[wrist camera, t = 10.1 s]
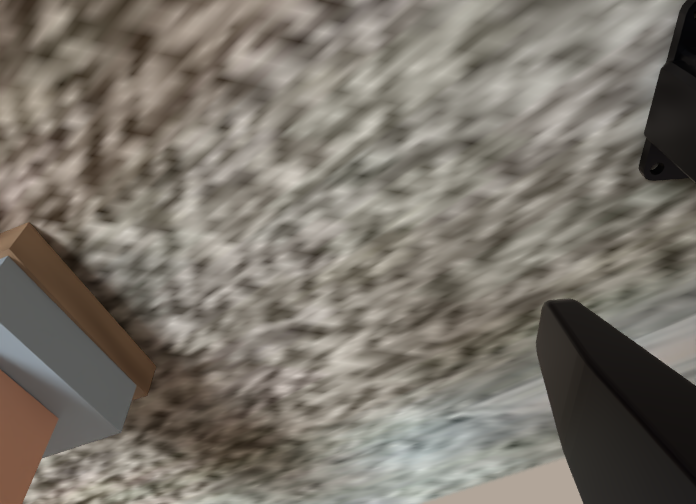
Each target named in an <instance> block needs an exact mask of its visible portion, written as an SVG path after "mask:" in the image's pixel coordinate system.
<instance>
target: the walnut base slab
mask: <svg viewBox="0 0 696 504" xmlns="http://www.w3.org/2000/svg"><path fill="white" fill-rule="evenodd" d="M6 256H9V257H10V258H11V259H12V260H13V261H14V262H15V263H16V264H17V265H18V266H19V267H20V268H21V269H22V270H23V271H24V272H25V273H26V274H27V275H28V276H29V277H30V278H31V279H32V280H33V281H34V282H35V283H36V284H37V286H38V287H39V288H40V289H41V290H42V291H43V292H44V293H45V294H46V295H47V296H48V297H49V298H50V299H51V300H52V301H53V302H54V303H55V304H56V305H57V306H58V307H59V308H60V309H61V310H62V311H63V312H64V313H65V314H66V315H67V316H68V317H69V318H70V319H71V320H72V321H73V322H74V323H75V324H76V325H77V326H78V327H79V328H80V329H81V330H82V331H83V332H84V333H85V334H86V335H87V336H88V337H89V338H90V339H91V340H92V341H93V342H94V343H95V344H96V345H97V346H98V347H99V348H100V349H101V350H102V351H103V352H104V353H105V354H106V355H107V356H108V357H109V358H110V359H111V360H112V361H113V362H114V363H115V364H116V365H117V366H118V367H119V368H120V369H121V370H122V371H123V372H124V373H125V374H126V375H127V376H128V377H129V378H130V379H131V380H132V381H133V382H134V383H135V384H136V385H137V386H136V389H135V392H134V395H133V398H132V400H135V399H138V398H141V397H144V396H147V395H148V392H149V389H150V385H151V382H152V379H153V375H154V372H155V369H156V366H155V365H154V363H153V362H152V361H151V360H150V359H149V358H148V357H147V355H146V354H145V353H144V352H143V351H142V350H141V349H140V348H139V346H138V345H137V344H136V343H135V342H134V341H133V340H132V338H131V337H130V336H129V335H128V334H127V333H126V332H125V330H124V329H123V328H122V327H121V326H120V325H119V324H118V323H117V321H116V320H115V319H114V318H113V317H112V316H111V315H110V313H109V312H108V311H107V310H106V309H105V308H104V307H103V306H102V304H101V303H100V302H99V301H98V300H97V299H96V298H95V296H94V295H93V294H92V293H91V292H90V291H89V290H88V289H87V287H86V286H85V285H84V284H83V283H82V282H81V281H80V279H79V278H78V277H77V276H76V275H75V274H74V273H73V272H72V270H71V269H70V268H69V267H68V266H67V265H66V264H65V262H64V261H63V260H62V259H61V258H60V257H59V256H58V254H57V253H56V252H55V251H54V250H53V249H52V248H51V247H50V245H49V244H48V243H47V242H46V241H45V240H44V239H43V237H42V236H41V235H40V234H39V233H38V232H37V231H36V230H35V228H34V227H33V226H32V225H31V224H30V223H29V222H28V223H26V224H23V225H21V226H18V227H16V228H13V229H11V230H8V231H6V232H3V233H1V234H0V259H1V258H4V257H6Z"/></svg>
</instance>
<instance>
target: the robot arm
mask: <svg viewBox="0 0 696 504" xmlns="http://www.w3.org/2000/svg"><path fill="white" fill-rule="evenodd" d="M695 11H696V0H687V1H686V2H685V3H684V4H683V5H682V8H681V10H680V12H679V16H678V20H677V23H676V27H675V31H674V35H673V39H672V42H671V46H670V50H669V54H668V58H667V61H666V64H665V65H664V66H663V67H662V68H661V70H660V74H659V78H658V82H657V86H656V89H655V93H654V97H653V101H652V105H651V109H650V112H649V116H648V120H647V124H646V128H645V132H644V135H645V136H646V141H645V144H644V148H643V152H642V156H641V160H640V163H639V170H640V172H641V174H642V175H643V176H644V177H645V178H646V179H648V180H653V181H656V180H669V179H682V178H690V179H691V180H692V181H693V182H695V183H696V18H695V19H694V13H695ZM656 163H659V165H658V166H657V167H656V168H655V169H652V170H650V169H651V167H652V166H653V165H654V164H656ZM536 349H537V356H538V360H539V363H540V367H541V371H542V375H543V379H544V382H545V386H546V390H547V394H548V397H549V401H550V405H551V409H552V412H553V416H554V420H555V424H556V428H557V431H558V435H559V438H560V442H561V445H562V449H563V452H564V454H565V457H566V460H567V463H568V465H569V468H570V470H571V473H572V476H573V478H574V481H575V483H576V486H577V488H578V491H579V493H580V496H581V498H582V501H583V504H696V386H695V385H694V384H692V383H691V382H690V381H688V380H687V379H685V378H684V377H683V376H681V375H680V374H678V373H677V372H676V371H674V370H673V369H671V368H670V367H669V366H667V365H666V364H664V363H663V362H662V361H660V360H659V359H657V358H656V357H655V356H653V355H652V354H650V353H649V352H648V351H646V350H645V349H643V348H642V347H641V346H639V345H638V344H636V343H635V342H634V341H632V340H631V339H630V338H628V337H627V336H625V335H624V334H623V333H621V332H620V331H618V330H617V329H616V328H614V327H613V326H611V325H610V324H609V323H607V322H606V321H604V320H603V319H602V318H600V317H599V316H597V315H596V314H595V313H593V312H592V311H590V310H589V309H588V308H586V307H585V306H583V305H582V304H581V303H579V302H578V301H576V300H574V299H558V300H549V301H546V302H545V303H544V305H543V307H542V312H541V317H540V323H539V328H538V334H537V340H536Z"/></svg>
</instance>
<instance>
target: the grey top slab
mask: <svg viewBox="0 0 696 504" xmlns="http://www.w3.org/2000/svg"><path fill="white" fill-rule="evenodd" d="M0 370H2V371H3V372H4V373H5V374H6V375H8V376H9V377H10V378H11V379H12V380H13V381H15V382H16V383H17V384H18V385H19V386H21V387H22V388H23V389H24V390H25V391H26V392H28V393H29V394H30V395H31V396H32V397H34V398H35V399H36V400H37V401H38V402H40V403H41V404H42V405H43V406H44V407H45V408H47V409H48V410H49V411H50V412H51V413H53V414H54V415H55V416H56V417H57V418H59V419H58V421H57V424H56V426H55V428H54V431H53V433H52V435H51V438H50V440H49V442H48V445H47V447H46V449H45V452H44V454H43V456H42V458H45V457H48V456H51V455H54V454H57V453H60V452H63V451H66V450H69V449H72V448H75V447H78V446H81V445H85V444H88V443H91V442H94V441H97V440H100V439H103V438H106V437H109V436H112V435H115V434H118V433H121V431H122V428H123V425H124V422H125V419H126V416H127V413H128V410H129V407H130V404H131V401H132V398H133V395H134V392H135V389H136V386H137V385H136V384H135V383H134V382H133V381H132V380H131V379H130V378H129V377H128V376H127V375H126V374H125V373H124V372H123V371H122V370H121V369H120V368H119V367H118V366H117V365H116V364H115V363H114V362H113V361H112V360H111V359H110V358H109V357H108V356H107V355H106V354H105V353H104V352H103V351H102V350H101V349H100V348H99V347H98V346H97V345H96V344H95V343H94V342H93V341H92V340H91V339H90V338H89V337H88V336H87V335H86V334H85V333H84V332H83V331H82V330H81V329H80V328H79V327H78V326H77V325H76V324H75V323H74V322H73V321H72V320H71V319H70V318H69V317H68V316H67V315H66V314H65V313H64V312H63V311H62V310H61V309H60V308H59V307H58V306H57V305H56V304H55V303H54V302H53V301H52V300H51V299H50V298H49V297H48V296H47V295H46V294H45V293H44V292H43V291H42V290H41V289H40V288H39V287H38V286H37V284H36V283H35V282H34V281H33V280H32V279H31V278H30V277H29V276H28V275H27V274H26V273H25V272H24V271H23V270H22V269H21V268H20V267H19V266H18V265H17V264H16V263H15V262H14V261H13V260H12V259H11V258H10V257H9V256H6V257H4V258H1V259H0Z"/></svg>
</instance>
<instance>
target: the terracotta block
mask: <svg viewBox="0 0 696 504" xmlns="http://www.w3.org/2000/svg"><path fill="white" fill-rule="evenodd" d="M58 419H59V418H57V417H56V416H55V415H54V414H53V413H51V412H50V411H49V410H48V409H47V408H45V407H44V406H43V405H42V404H41V403H40V402H38V401H37V400H36V399H35V398H34V397H32V396H31V395H30V394H29V393H28V392H26V391H25V390H24V389H23V388H22V387H21V386H19V385H18V384H17V383H16V382H15V381H13V380H12V379H11V378H10V377H9V376H8V375H6V374H5V373H4V372H3V371H2V370H0V504H22V503H23V500H24V498H25V496H26V493H27V491H28V489H29V486H30V484H31V482H32V479H33V477H34V475H35V472H36V470H37V468H38V466H39V463H40V461H41V459H42V456H43V454H44V452H45V449H46V447H47V445H48V442H49V440H50V438H51V435H52V433H53V431H54V428H55V426H56V424H57V421H58Z"/></svg>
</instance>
